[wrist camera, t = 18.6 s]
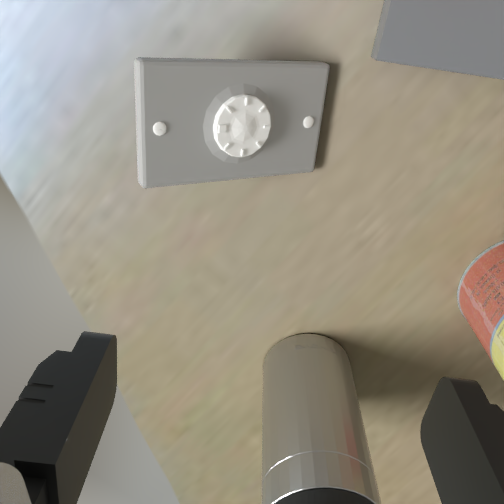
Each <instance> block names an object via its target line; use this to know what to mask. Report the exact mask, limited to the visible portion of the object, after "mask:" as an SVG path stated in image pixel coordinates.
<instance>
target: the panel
mask: <svg viewBox="0 0 504 504" xmlns="http://www.w3.org/2000/svg"><path fill="white" fill-rule="evenodd" d="M371 57H372V58H374V59H375V60H378V61H384V62H391V63H397V64H404V65H411V66H417V67H424V68H431V69H437V70H444V71H450V72H457V73H464V74H470V75H477V76H484V77H490V78H497V79H503V80H504V0H384V4H383V9H382V13H381V17H380V21H379V25H378V29H377V34H376V38H375V42H374V46H373V50H372V55H371Z"/></svg>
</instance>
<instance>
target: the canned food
mask: <svg viewBox="0 0 504 504" xmlns="http://www.w3.org/2000/svg"><path fill="white" fill-rule="evenodd" d="M457 300H458V305H459V309H460V311H461V313H462V315H463V316H464V318H465V319H466V320H467V321H468V323H469V324H470V326H471V327H472V329H473V331H474V332H475V334H476V336H477V337H478V339H479V341H480V342H481V344H482V346H483V347H484V349H485V351H486V352H487V354H488V356H489V357H490V359H491V361H492V362H493V364H494V365H495V367H496V369H497V370H498V372H499V374H500V375H501V377H502V379H503V380H504V240H503V241H501V242H499V243H497V244H495V245H493V246H491V247H489V248H488V249H486V250H485V251H484V252H482V253H481V254H480V255H479V256H477V257H476V258H475V259H474V260H473V261H472V263H471V264H470V265H469V266H468V268H467V269H466V270H465V272H464V274H463V276H462V278H461V280H460V283H459V286H458V292H457Z"/></svg>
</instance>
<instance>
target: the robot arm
mask: <svg viewBox="0 0 504 504" xmlns="http://www.w3.org/2000/svg"><path fill="white" fill-rule="evenodd" d="M116 386H117V339H116V336H115V335H110V334H102V333H94V332H83V333H82V334H81V336H80V338H79V340H78V341H77V343H76V345H75V347H74V349H73V350H72V352H67V351H59V350H57V351H55V352H54V353H53V354H51V355H50V356H49V357H48V358H46V359H45V360H44V361H43V362H41V363H40V364H39V365H38V366H37V368H36V370H35V371H34V373H33V375H32V376H31V378H30V380H29V381H28V385H27V386H25V388H24V390H23V391H22V393H21V394H20V396H19V400H18V401H16V403H15V404H14V406H13V408H12V409H11V411H10V413H9V414H8V416H7V418H6V419H5V421H4V422H3V424H2V426H1V427H0V504H77V501H78V498H79V496H80V493H81V490H82V487H83V485H84V482H85V479H86V477H87V474H88V471H89V468H90V466H91V463H92V460H93V458H94V455H95V452H96V449H97V447H98V444H99V441H100V439H101V436H102V433H103V431H104V428H105V425H106V422H107V420H108V417H109V414H110V411H111V409H112V406H113V402H114V398H115V393H116ZM421 443H422V446H423V450H424V452H425V455H426V458H427V461H428V464H429V467H430V470H431V473H432V476H433V479H434V482H435V485H436V488H437V491H438V494H439V497H440V499H441V502H442V504H504V411H503V410H502V409H501V408H500V407H499V406H498V405H494V404H490V403H489V401H488V399H487V398H486V396H485V394H484V392H483V390H482V388H481V386H480V385H479V384H478V382H476V381H474V380H466V379H458V378H450V377H443V378H442V379H441V380H440V381H439V383H438V385H437V387H436V389H435V392H434V394H433V396H432V399H431V401H430V403H429V405H428V408H427V410H426V412H425V414H424V417H423V419H422V423H421ZM262 504H381V500H380V496H379V491H378V487H377V482H376V479H375V474H374V470H373V465H372V461H371V456H370V452H369V447H368V443H367V438H366V434H365V429H364V425H363V420H362V416H361V411H360V407H359V402H358V398H357V393H356V388H355V384H354V379H353V375H352V371H351V366H350V362H349V358H348V355H347V353H346V352H345V350H344V349H343V348H342V347H341V346H340V345H339V344H338V343H337V342H335V341H334V340H332V339H330V338H327V337H325V336H321V335H316V334H300V335H294V336H291V337H288V338H285V339H283V340H281V341H280V342H278V343H277V344H276V345H274V346H273V347H272V348H271V349H270V351H269V352H268V353H267V355H266V357H265V359H264V364H263V413H262Z"/></svg>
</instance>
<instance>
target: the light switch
mask: <svg viewBox="0 0 504 504" xmlns="http://www.w3.org/2000/svg"><path fill="white" fill-rule="evenodd" d="M329 69H330V67H329V65H328V64H327V63H324V62H320V61H276V60H231V59H186V58H141V57H138V58H136V59H135V61H134V76H135V107H136V137H137V167H138V182H139V184H140V185H141V186H142V187H143V188H153V187H163V186H173V185H183V184H194V183H204V182H214V181H224V180H234V179H244V178H254V177H265V176H275V175H285V174H295V173H305V172H312V171H313V170H314V166H315V160H316V153H317V147H318V140H319V134H320V127H321V121H322V114H323V108H324V101H325V95H326V88H327V82H328V75H329Z"/></svg>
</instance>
